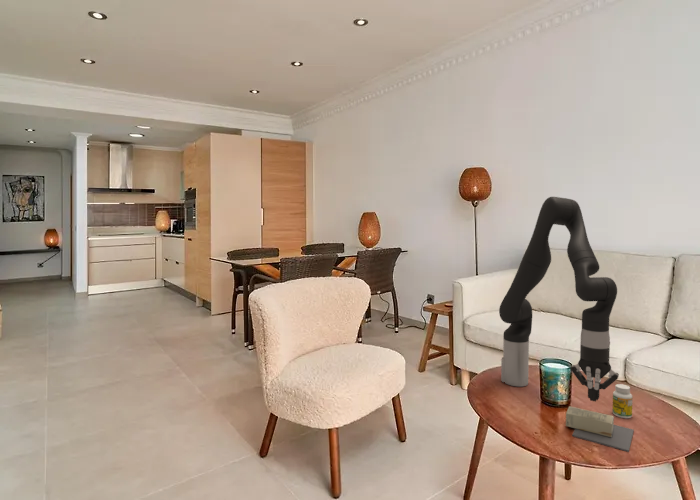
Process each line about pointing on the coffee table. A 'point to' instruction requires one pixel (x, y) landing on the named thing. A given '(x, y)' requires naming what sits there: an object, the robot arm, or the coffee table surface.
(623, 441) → the mat
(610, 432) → the skincare box
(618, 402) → the supplement bottle
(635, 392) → the coffee table surface
